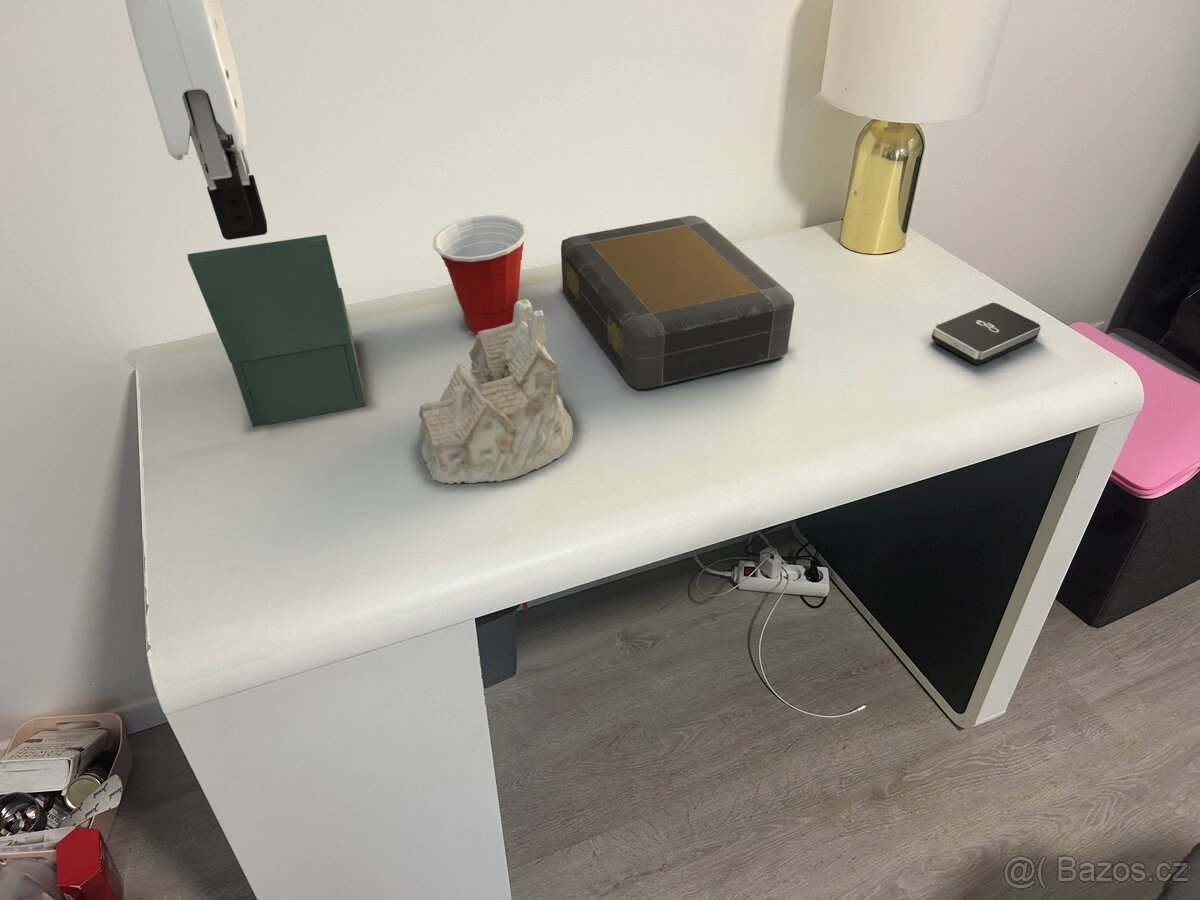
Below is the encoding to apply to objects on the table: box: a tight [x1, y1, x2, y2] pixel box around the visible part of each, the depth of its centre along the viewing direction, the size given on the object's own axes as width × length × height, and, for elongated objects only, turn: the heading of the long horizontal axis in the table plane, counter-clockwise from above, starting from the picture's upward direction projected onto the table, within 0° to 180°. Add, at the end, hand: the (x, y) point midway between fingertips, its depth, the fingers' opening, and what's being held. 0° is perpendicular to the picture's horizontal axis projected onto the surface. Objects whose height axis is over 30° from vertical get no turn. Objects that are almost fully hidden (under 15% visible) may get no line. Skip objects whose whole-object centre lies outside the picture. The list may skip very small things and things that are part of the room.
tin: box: [231, 287, 367, 428], centre depth 91 cm, size 13×12×8 cm
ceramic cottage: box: [418, 298, 574, 485], centre depth 82 cm, size 16×16×15 cm
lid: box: [187, 234, 351, 364], centre depth 79 cm, size 13×12×1 cm
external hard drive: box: [931, 301, 1042, 365], centre depth 99 cm, size 7×11×2 cm, turn 122°
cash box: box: [560, 215, 796, 390], centre depth 101 cm, size 25×20×8 cm
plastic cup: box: [432, 214, 528, 334], centre depth 100 cm, size 11×11×12 cm
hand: (246, 232), depth 64 cm, fingers closed
